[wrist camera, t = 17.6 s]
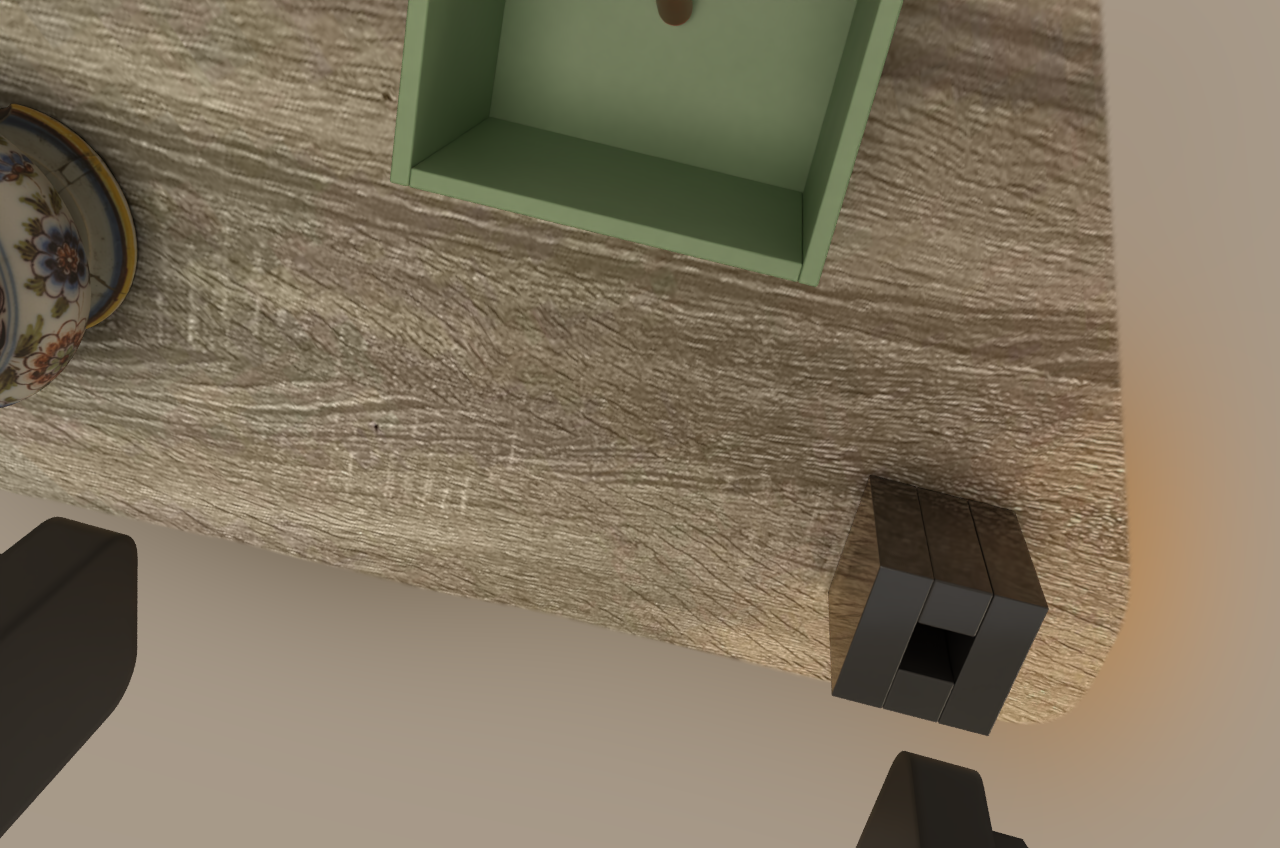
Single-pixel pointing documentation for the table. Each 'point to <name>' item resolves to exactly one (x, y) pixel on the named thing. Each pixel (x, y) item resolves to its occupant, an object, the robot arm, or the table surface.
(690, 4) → the red rod
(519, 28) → the bin
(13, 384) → the apothecary jar
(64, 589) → the robot arm
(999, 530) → the holder
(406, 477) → the table surface
